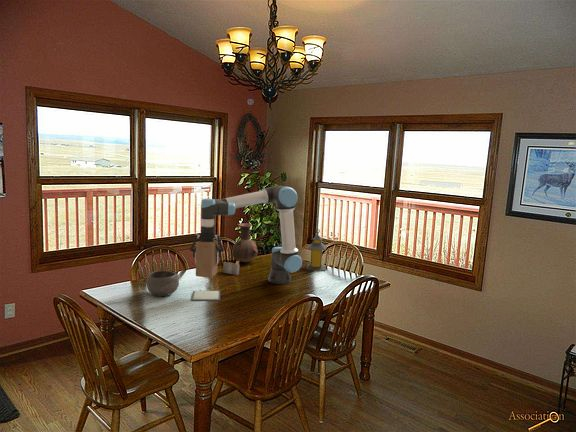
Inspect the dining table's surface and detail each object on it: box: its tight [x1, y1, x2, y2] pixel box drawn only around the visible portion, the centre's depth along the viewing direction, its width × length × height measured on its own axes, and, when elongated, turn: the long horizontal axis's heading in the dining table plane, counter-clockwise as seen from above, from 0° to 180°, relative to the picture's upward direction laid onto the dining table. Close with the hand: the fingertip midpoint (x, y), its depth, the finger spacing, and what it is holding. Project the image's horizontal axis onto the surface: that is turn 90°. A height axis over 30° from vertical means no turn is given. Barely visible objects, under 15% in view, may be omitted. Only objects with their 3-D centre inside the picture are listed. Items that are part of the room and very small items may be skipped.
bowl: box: [146, 269, 180, 297], centre depth 244 cm, size 18×18×13 cm
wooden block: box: [195, 239, 219, 278], centre depth 243 cm, size 10×10×20 cm
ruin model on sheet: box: [222, 260, 240, 276], centre depth 295 cm, size 11×3×10 cm, turn 67°
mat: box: [190, 290, 221, 302], centre depth 246 cm, size 16×16×1 cm
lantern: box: [305, 228, 327, 272], centre depth 317 cm, size 14×14×30 cm
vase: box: [231, 222, 259, 264], centre depth 324 cm, size 25×20×30 cm
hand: (206, 263), depth 243 cm, fingers closed on wooden block, 12 cm apart
